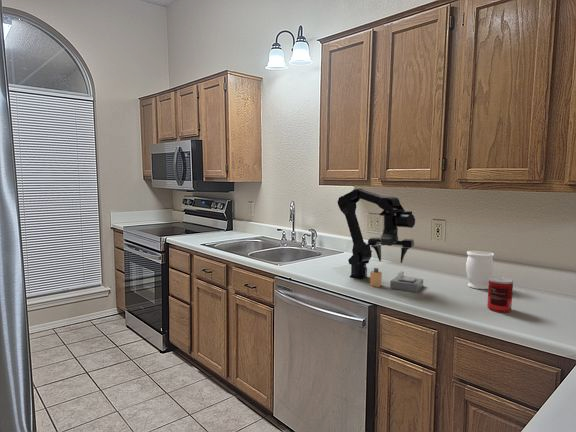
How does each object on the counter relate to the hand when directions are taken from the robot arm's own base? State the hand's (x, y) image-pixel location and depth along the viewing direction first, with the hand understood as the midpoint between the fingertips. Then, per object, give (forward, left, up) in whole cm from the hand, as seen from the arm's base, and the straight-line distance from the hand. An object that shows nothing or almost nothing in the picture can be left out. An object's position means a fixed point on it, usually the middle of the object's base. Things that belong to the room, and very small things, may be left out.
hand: (390, 262), depth 175 cm
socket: (+7, +1, -10) cm, 12 cm away
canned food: (+43, -10, -10) cm, 46 cm away
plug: (-5, -4, -10) cm, 12 cm away
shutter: (+7, +1, -7) cm, 10 cm away
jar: (+33, +18, -10) cm, 39 cm away
